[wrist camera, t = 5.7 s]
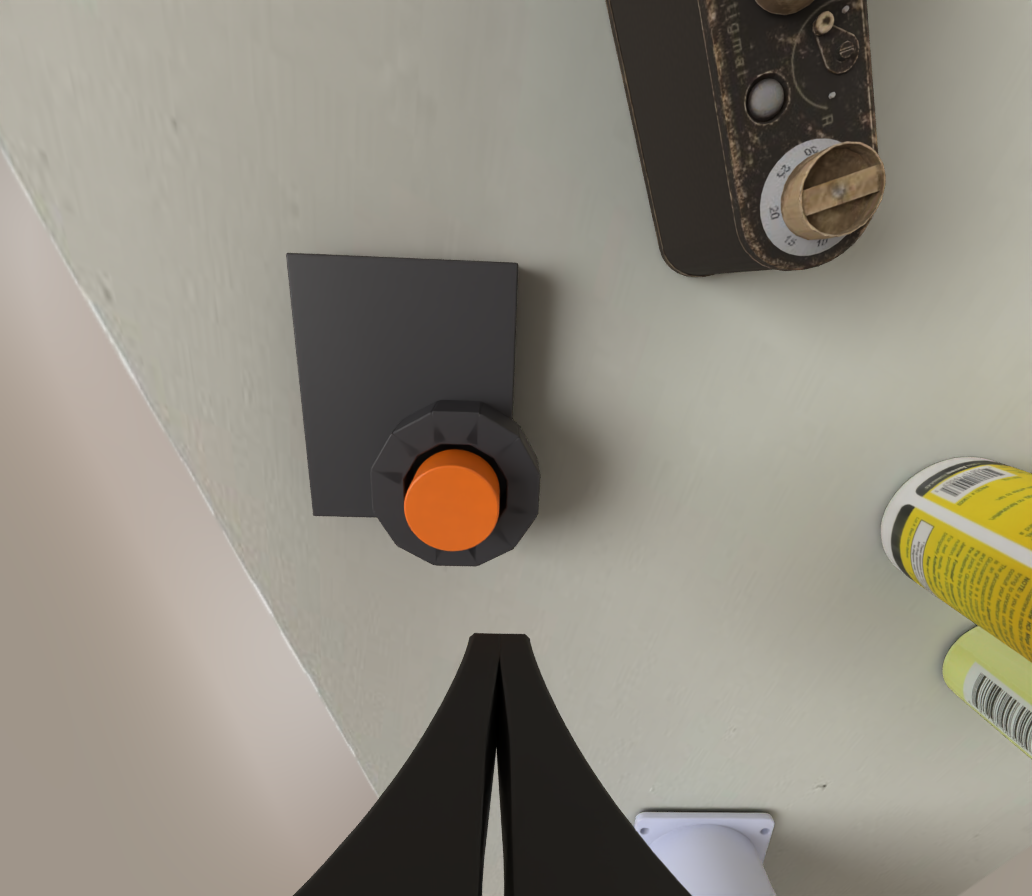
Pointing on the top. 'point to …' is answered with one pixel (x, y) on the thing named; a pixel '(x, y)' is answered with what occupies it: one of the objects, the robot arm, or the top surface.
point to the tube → (993, 684)
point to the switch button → (453, 500)
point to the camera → (752, 128)
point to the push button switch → (409, 386)
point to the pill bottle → (969, 542)
